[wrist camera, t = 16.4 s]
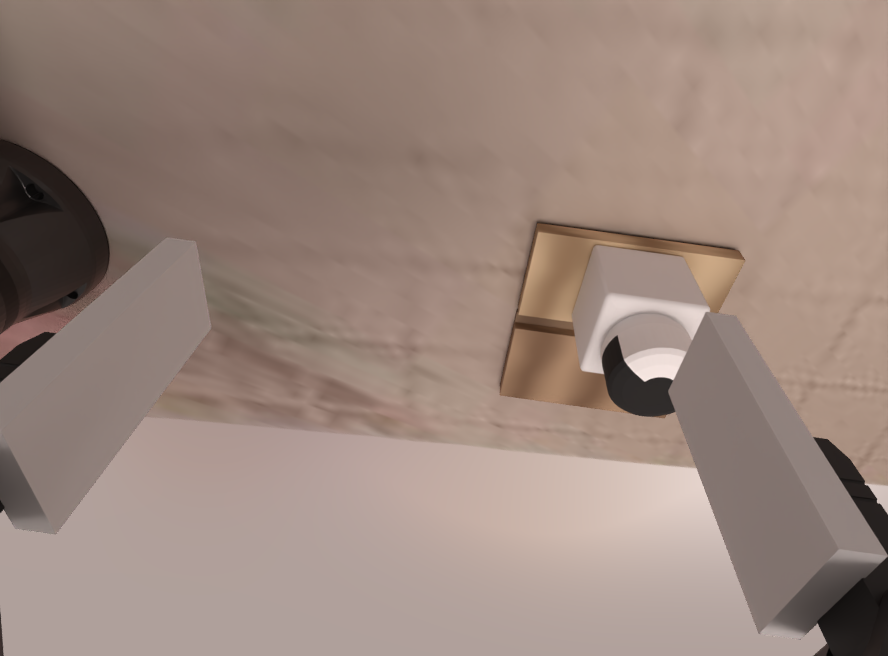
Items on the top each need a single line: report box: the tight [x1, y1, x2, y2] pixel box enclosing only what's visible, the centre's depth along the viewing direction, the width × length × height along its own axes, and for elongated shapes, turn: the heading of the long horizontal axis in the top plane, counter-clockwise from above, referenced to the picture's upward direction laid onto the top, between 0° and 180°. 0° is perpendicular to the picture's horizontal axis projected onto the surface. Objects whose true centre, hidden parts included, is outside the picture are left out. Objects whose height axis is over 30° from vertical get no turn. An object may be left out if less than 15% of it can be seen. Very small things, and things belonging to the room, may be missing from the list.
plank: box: [518, 223, 745, 322], centre depth 44 cm, size 16×8×2 cm, turn 84°
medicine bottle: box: [572, 245, 710, 417], centre depth 39 cm, size 7×7×12 cm
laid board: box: [500, 309, 666, 418], centre depth 50 cm, size 16×9×2 cm, turn 84°
